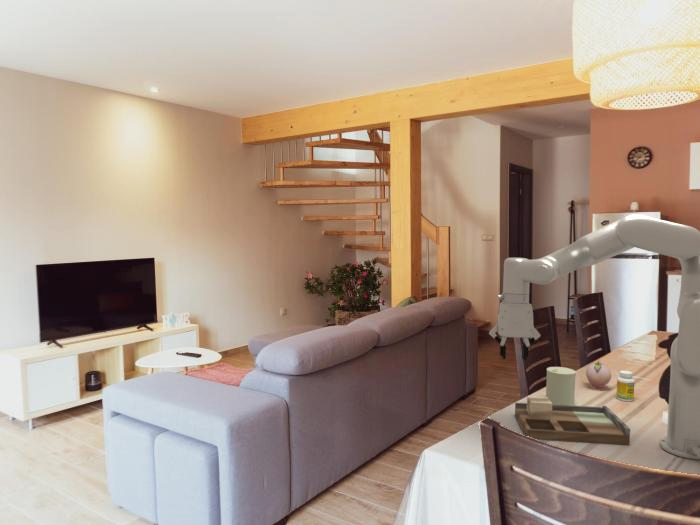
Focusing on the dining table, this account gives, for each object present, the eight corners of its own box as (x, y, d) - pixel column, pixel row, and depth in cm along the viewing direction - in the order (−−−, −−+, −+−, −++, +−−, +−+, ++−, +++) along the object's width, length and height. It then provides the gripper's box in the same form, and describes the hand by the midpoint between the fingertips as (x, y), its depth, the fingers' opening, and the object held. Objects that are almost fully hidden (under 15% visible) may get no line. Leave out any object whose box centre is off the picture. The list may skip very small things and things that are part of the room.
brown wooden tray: (629, 444, 146) (630, 428, 146) (527, 438, 150) (527, 423, 149) (605, 420, 165) (605, 405, 165) (514, 415, 169) (515, 401, 168)
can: (539, 401, 182) (540, 366, 182) (560, 398, 186) (562, 364, 185) (558, 410, 174) (560, 373, 173) (580, 407, 177) (582, 371, 176)
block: (551, 418, 159) (552, 403, 159) (530, 417, 160) (531, 402, 159) (546, 411, 165) (547, 397, 164) (526, 410, 166) (527, 396, 165)
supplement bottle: (621, 395, 190) (623, 369, 189) (636, 400, 185) (638, 372, 184) (613, 398, 187) (614, 371, 186) (628, 402, 182) (629, 375, 182)
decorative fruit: (612, 393, 193) (614, 365, 192) (588, 390, 195) (589, 363, 194) (607, 385, 202) (609, 359, 201) (584, 383, 204) (585, 357, 203)
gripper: (488, 299, 158) (486, 360, 159) (548, 301, 156) (546, 363, 157) (484, 296, 166) (483, 354, 167) (542, 298, 163) (540, 356, 165)
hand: (513, 357), depth 162 cm, fingers open, 5 cm apart
